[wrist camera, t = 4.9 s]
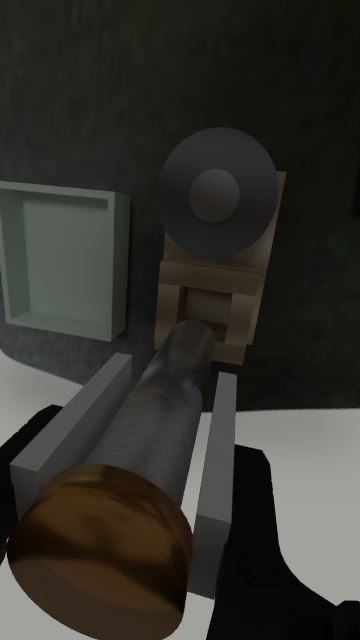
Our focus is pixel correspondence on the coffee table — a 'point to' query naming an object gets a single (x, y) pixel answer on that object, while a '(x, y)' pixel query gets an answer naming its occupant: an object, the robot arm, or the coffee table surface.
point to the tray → (64, 258)
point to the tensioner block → (216, 236)
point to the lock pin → (123, 508)
